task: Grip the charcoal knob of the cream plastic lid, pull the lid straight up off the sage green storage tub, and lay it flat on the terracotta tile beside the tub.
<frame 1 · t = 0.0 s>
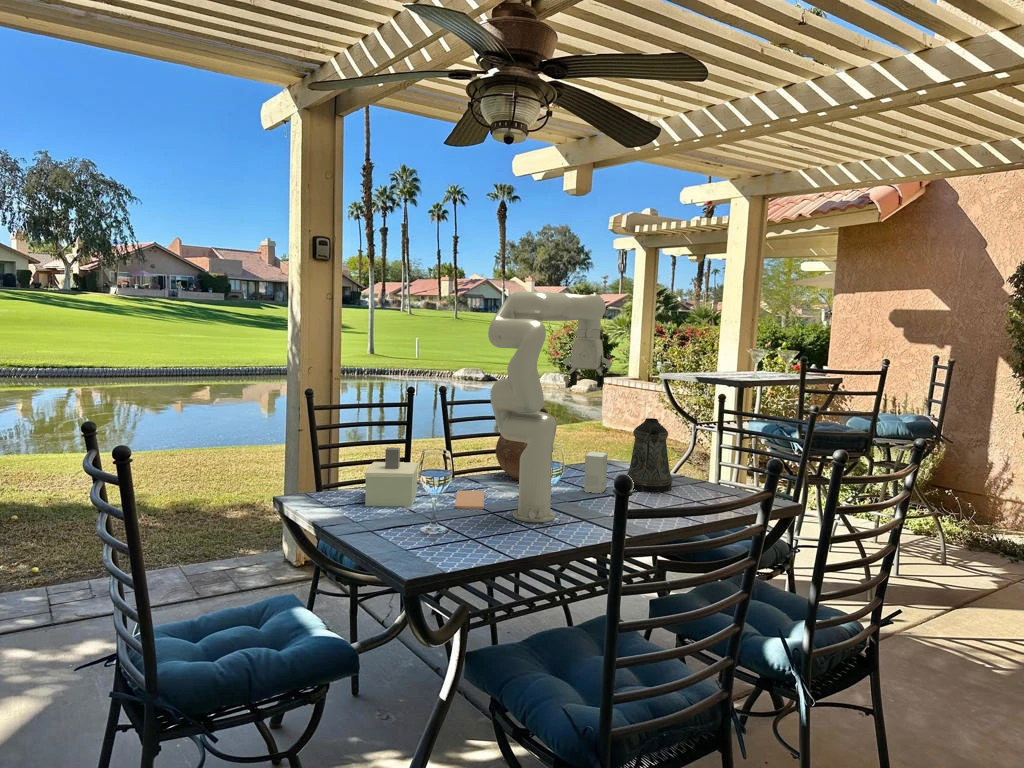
hand: (586, 386, 227), 37 cm above the table, tool pointing down, fingers open, 9 cm apart
small box: (595, 491, 239), on the table
lid: (392, 474, 214), point 9 cm above the table, touching storage tub
storage tub: (392, 502, 215), on the table
beer stein: (650, 488, 244), on the table
jug: (524, 479, 255), on the table
tile: (456, 500, 220), on the table
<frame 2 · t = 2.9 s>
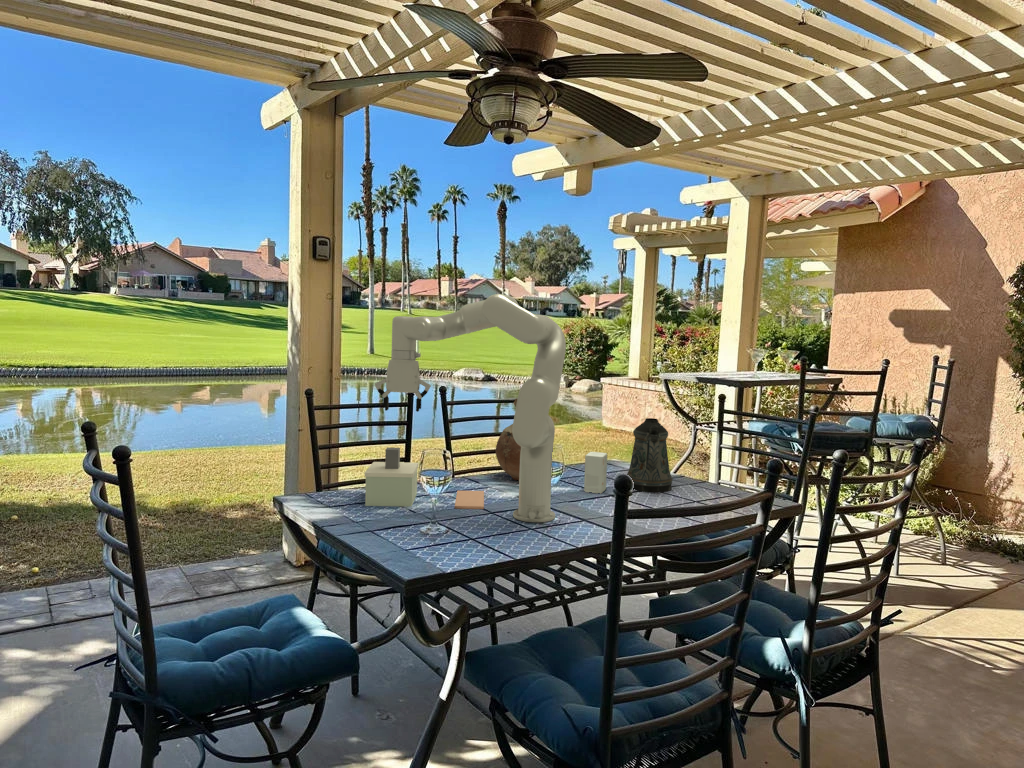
hand: (402, 410, 213), 29 cm above the table, tool pointing down, fingers open, 9 cm apart
nothing on the table moved.
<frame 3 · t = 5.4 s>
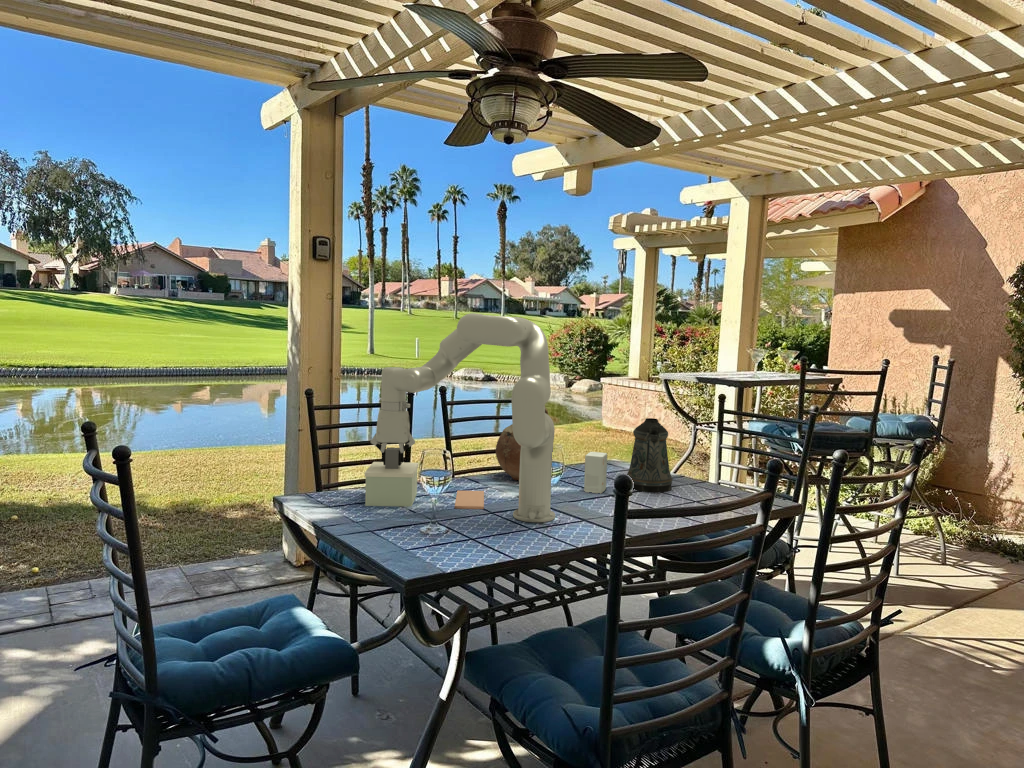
hand: (392, 464, 214), 12 cm above the table, tool pointing down, fingers closed on lid, 4 cm apart
lid: (392, 474, 214), point 9 cm above the table, touching gripper, storage tub
everything else where it was.
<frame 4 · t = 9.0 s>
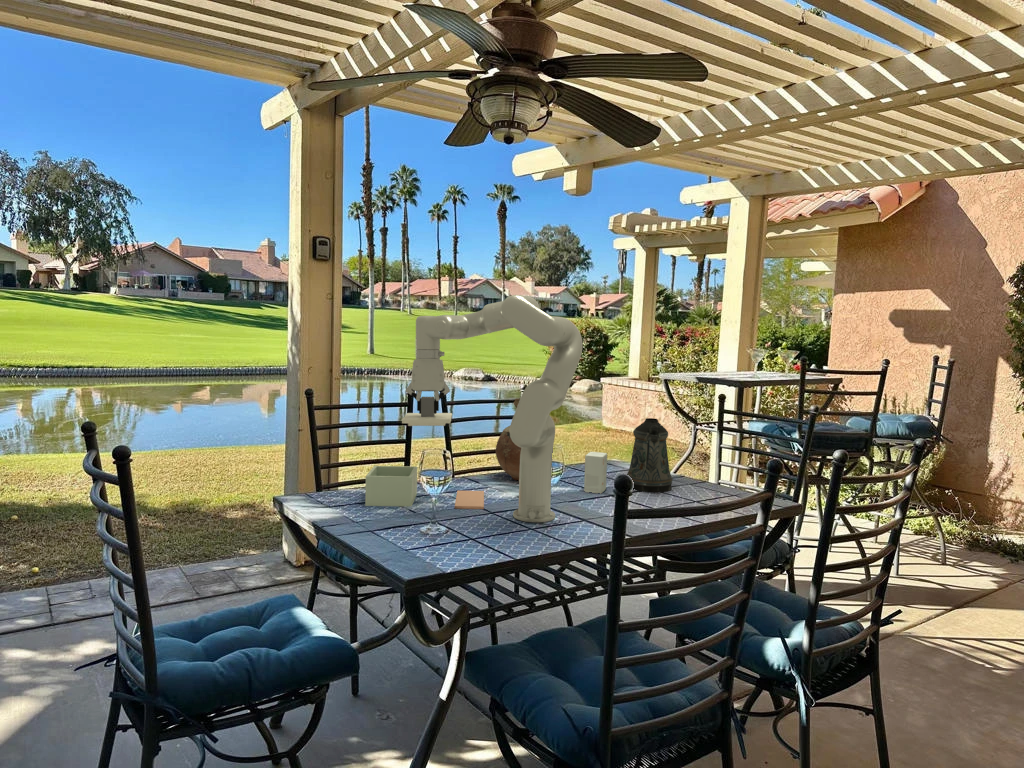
hand: (428, 412, 215), 29 cm above the table, tool pointing down, fingers closed on lid, 4 cm apart
lid: (427, 423, 215), point 25 cm above the table, touching gripper
everything else where it was.
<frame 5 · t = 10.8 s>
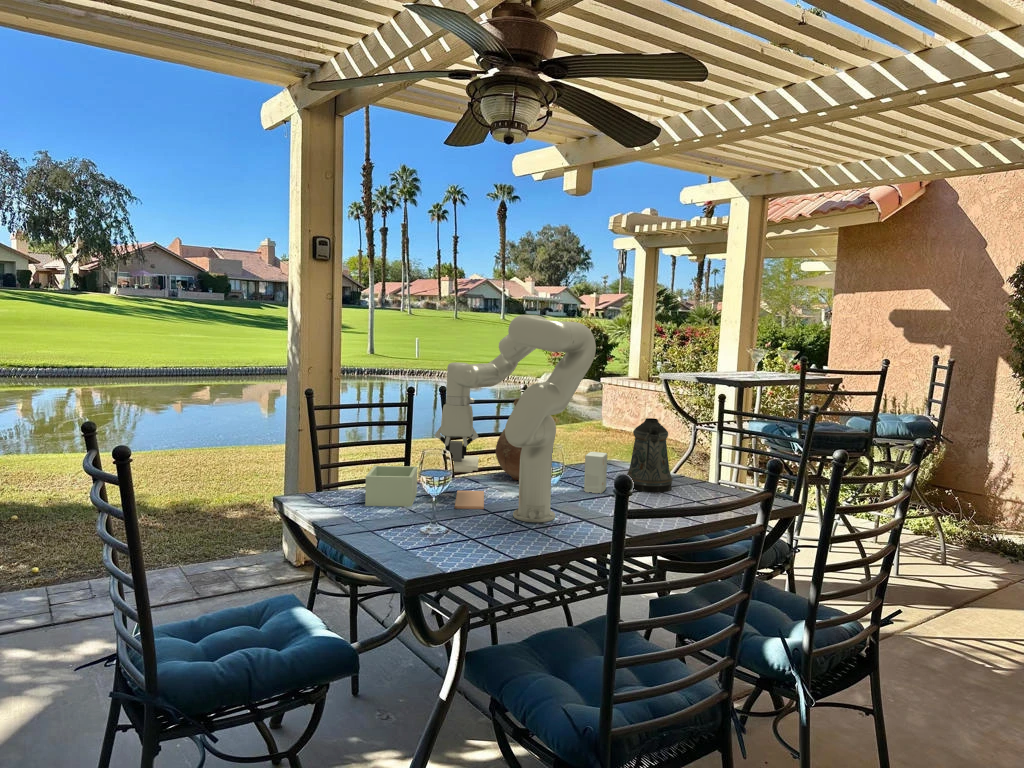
hand: (455, 457, 219), 14 cm above the table, tool pointing down, fingers closed on lid, 4 cm apart
lid: (455, 467, 219), point 11 cm above the table, touching gripper
everything else where it was.
when the fingers open (6 cm above the table, at t = 12.4 s): lid drops 2 cm, resting on tile.
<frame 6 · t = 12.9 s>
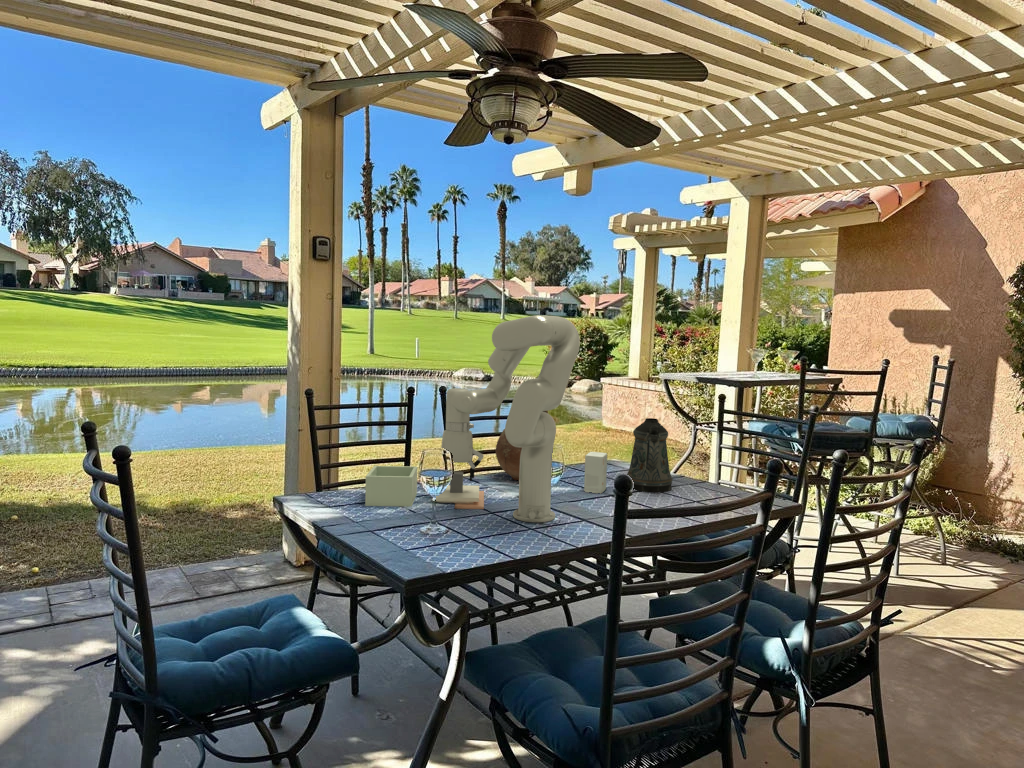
hand: (456, 479, 219), 7 cm above the table, tool pointing down, fingers open, 9 cm apart
lid: (456, 497, 220), point 1 cm above the table, touching tile
everything else where it was.
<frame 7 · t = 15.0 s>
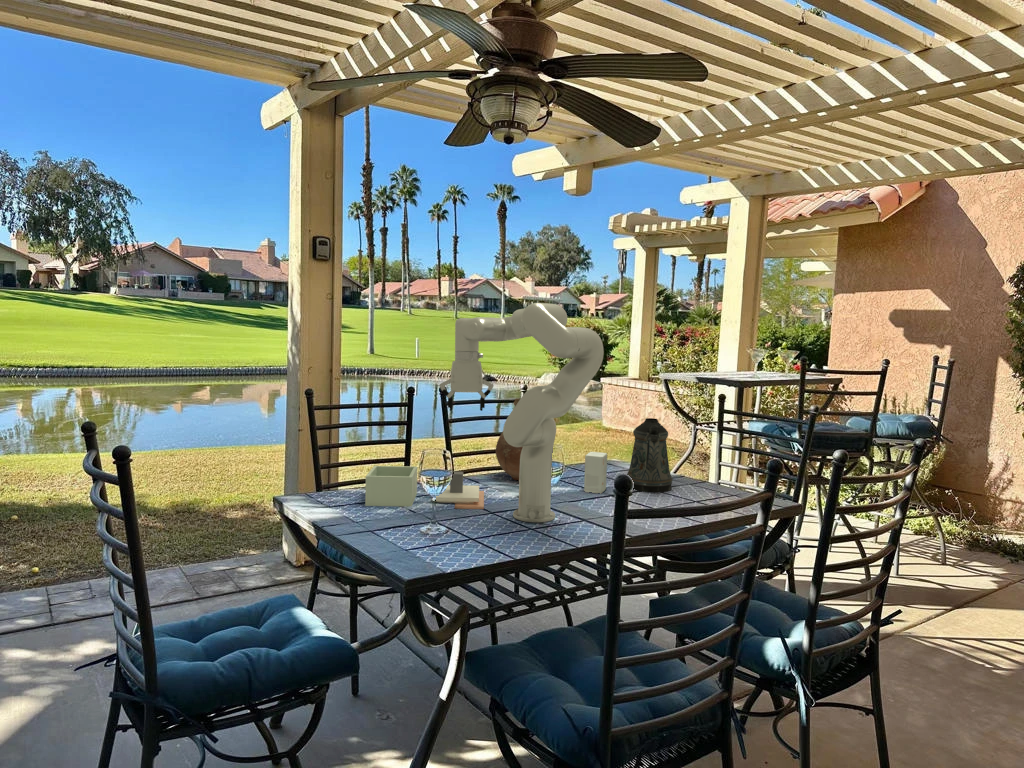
hand: (466, 410, 218), 29 cm above the table, tool pointing down, fingers open, 9 cm apart
nothing on the table moved.
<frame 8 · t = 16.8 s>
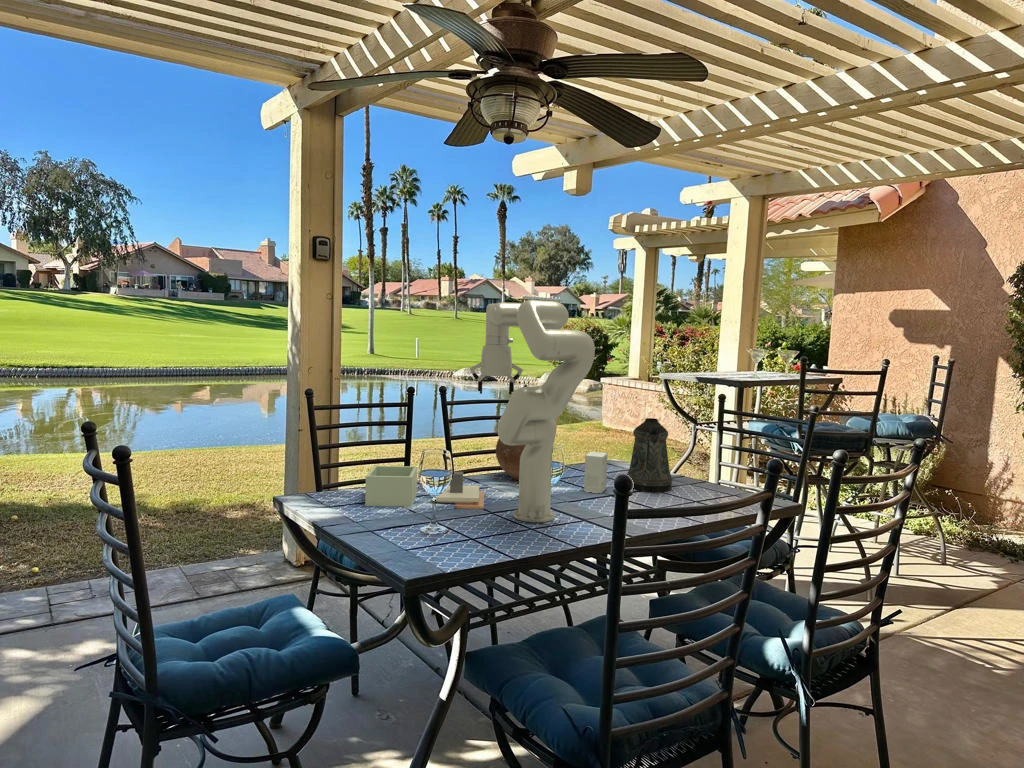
hand: (495, 393, 223), 34 cm above the table, tool pointing down, fingers open, 9 cm apart
nothing on the table moved.
at the end: lid inside the target area on the tile (0.1 cm from its centre), point 0.8 cm above the tile's base; lid tilted 0°; the gripper is holding nothing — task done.
